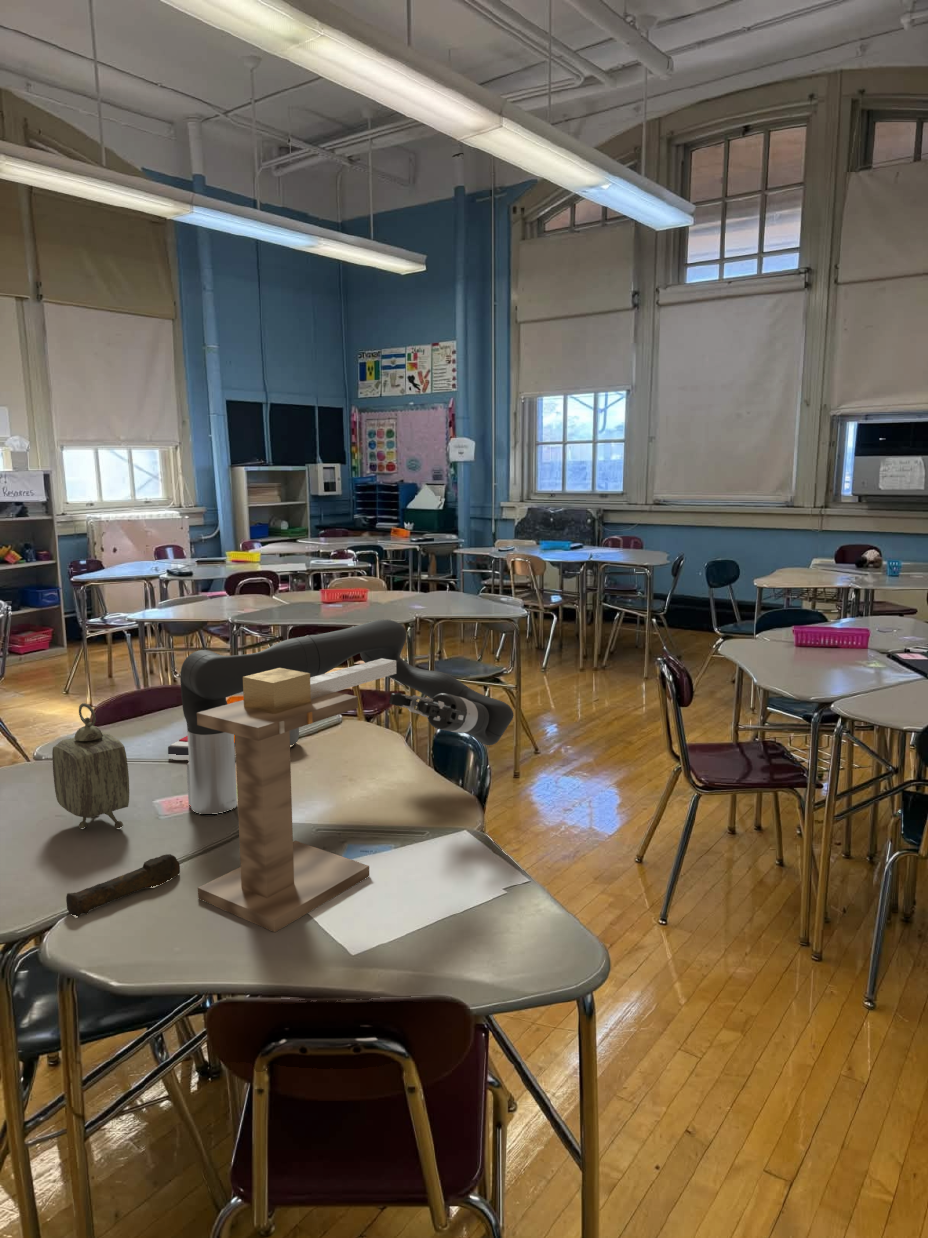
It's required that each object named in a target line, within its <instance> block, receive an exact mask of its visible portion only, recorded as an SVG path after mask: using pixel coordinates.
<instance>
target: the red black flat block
mask: <svg viewBox="0 0 928 1238" xmlns="http://www.w3.org/2000/svg"><path fill="white" fill-rule="evenodd" d="M167 754H176V755H189V751H188V735H186V736H184V737H181V738H180V739H178V741H176V742H172V744H170V745H169V746H168V747H167Z"/></svg>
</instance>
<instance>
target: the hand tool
mask: <svg viewBox="0 0 928 1238" xmlns="http://www.w3.org/2000/svg"><path fill="white" fill-rule="evenodd" d="M180 867H181V866H180V862H179V861H178V859H177V857H176V856H175V855H173V854H167V853H166V854H162V855H160V856H158V857H157V856H156V857H155V858H149V859H148V860H146V861H144V862H143V865H142V867H139V868H137V869H135V870H133V871H130V872H127V873H124V874H122V875H118V876H117V877H114V878H112V879H108V880H107V881H104V882H101V883H98V884H95V885H93V886H90V887H87V888H84V889H83V890H79V891H76V892H71V893H70V892H68V893H66V898H65V899H66V900H65V901H66V909H67V911H68V914H69V915H71V914H72V915H76V916H78V918H79V917H81V915H88V914H89V913H90V911H91V910H94V909H97V908H100V907H102V906H104V905H107V904H109V903H111V902H114V901H118V900H120V899H121V898H124V897H127V896H129V895H132V894H134V893H136V892H139V891H140V890H143V889H147V888H148V887H151V886H152V887H153V886H156V885H160V884H162V883H164V882H166V881H167V880H170V879H171V878H173V879H174V878H176V877H177V876H178V874H179V875H180V874H181V873H180V872H181V868H180ZM175 876H176V877H175ZM171 880H172V879H171ZM171 880H170V881H171ZM166 883H167V882H166ZM164 884H165V883H164ZM162 885H163V884H162ZM160 886H161V885H160ZM87 913H88V914H87ZM72 915H71V916H72Z"/></svg>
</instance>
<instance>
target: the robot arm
mask: <svg viewBox="0 0 928 1238" xmlns="http://www.w3.org/2000/svg"><path fill="white" fill-rule="evenodd" d="M406 639H407V632H406V629H405V627H404V626H403V625H402V624H401V623H400V622H398V621H395V620H391V619H376V620H373V621H369V622H365V623H362V624H358V625H355V626H354V625H353V626H351V627H347V628H343V629H338V630H334V631H330V632H329V631H328V632H325V633H320V634H319V633H318V634H312V635H305V636H300V637H299V636H298V637H292V638H288V639H284V640H282V641H279V642H277V643H276V644H273V645H271V646H269V647H267V648H265V649H263V650H261V651H258V652H253V653H252V652H251V653H248V654H236V655H222V654H219V653H217V652H215V651H212V650H208V649H207V650H206V649H199V650H196V651H193V652H192V653H190V654H188V655H187V657H186V658H185V659H184V660H183V662H182V665H181V668H180V677H179V678H180V679H179V680H180V682H179V683H180V692H181V694H180V695H181V703H182V704H181V705H182V712H183V716H184V719H185V722H186V731H187V736H188V751H189V761H188V763H186V780H187V796H188V797H187V798H188V799H187V801H188V805H189V804H190V805H191V807H190V809H191V811H192V810H194V811H195V812H198V813H201V814H212V813H219V812H224V811H227V810H230V809H232V808H234V809H236V807H238V794H237V771H236V748H235V743H234V734H230V733H226V732H222V731H218V730H214V729H210V728H207V727H203V726H199V725H197V713H198V712H201V711H205V710H209V709H212V708H216V707H220V706H223V705H227V704H228V702H227V698H228V697H232V696H233V695H234V696H235V695H237V694H240V693H241V694H242V693H243V677H244V676H248V675H253V674H257V673H261V672H265V671H269V670H273V669H277V668H284V669H289V670H295V671H300V672H305V673H310V678H311V677H315V676H318V675H322V674H326V673H329V672H331V671H332V670H334V669H335V668H337V667H338V666H339V665H341V664H343V663H344V662H346V661H348V660H350V658H353V657H355V656H357V655H358V654H360V657H361V659H362V661H363V663H367V662H370V661H374V660H378V659H382V658H383V659H389V660H395V661H396V674H393V675H390V676H387V677H388V678H391V679H392V680H394V681H396V682H398V683H401V684H403V685H404V686H407V687H408V688H411V689H413V690H414V691H417V692H420V693H421V694H423V695H424V696H426V697H423V696H418V695H414V694H413V695H407V694H404V693H401V692H396V693H395V692H392V693H391V694H390V697H389V700H388V701H389V702H388V704H390V705H393V706H395V707H400V708H405V709H408V711H409V712H410V713H415V714H419V715H420V716H422V717H424V718H427V721H428V722H429V724H430V725H431V726H432V727H433V728H435V729H436V730H442V731H447V732H452V733H464V734H469V735H471V736H472V737H474V738H475V739H476V740H477V741H478V742H480V744H483V745H485V746H493V745H496V743H497V744H498V742H499V741H500V739H501V738H502V736H503V734H504V733H506V731H507V728H508V726H510V724H511V722H512V721H513V719H514V712H513V711H514V710H513V708H512V707H511V706H510V705H509V704H508V703H506V702H505V701H503V700H500V699H496V698H493V697H489V696H487V695H484V694H482V693H479V692H478V691H476V690H474V689H471V688H470V687H469V686H468V685H465V684H464V683H463V682H461V681H460V680H458V679H457V678H455V677H454V676H452V675H450V674H448V673H445V672H442V671H438V670H430V669H422V668H418V667H415V666H413V665H411V664H409V663H407V662H406V661H405V660H403V659H402V657H400V656H401V653H402V651H403V648H404V647H405V643H406ZM418 700H419V701H418ZM415 707H417V710H416V709H415Z"/></svg>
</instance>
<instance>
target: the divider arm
mask: <svg viewBox="0 0 928 1238" xmlns="http://www.w3.org/2000/svg"><path fill="white" fill-rule="evenodd" d="M393 674H396V661H395V660H389V659H383V658H382V659H378V660H374V661H370V662H367V663H365V662H363V663H360V664H356V665H352V666H349V667H345V668H342V669H338V670H333V671H329V672H327V673H325V674H322V675H318V676H315V677H311V678H310V673H305V672H300V671H295V670H289V669H284V668H277V669H273V670H269V671H265V672H261V673H257V674H253V675H248V676H244V677H243V692H242V693H243V696H242V697H243V700H244V707H245V708H250V709H254V710H258V711H263V712H267V713H271V714H277V713H280V712H283V711H287V710H290V709H293V708H296V707H300V706H303V705H306V704H310V703H311V699H313V698H316V697H320V696H323V695H326V694H330V693H333V692H337V693H338V692H339V691H343V690H346V689H350V688H352V687H356V686H359V685H362V684H366V683H369V682H374V681H376V680H380V679H383V678H386V677H388V676H390V675H393Z"/></svg>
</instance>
